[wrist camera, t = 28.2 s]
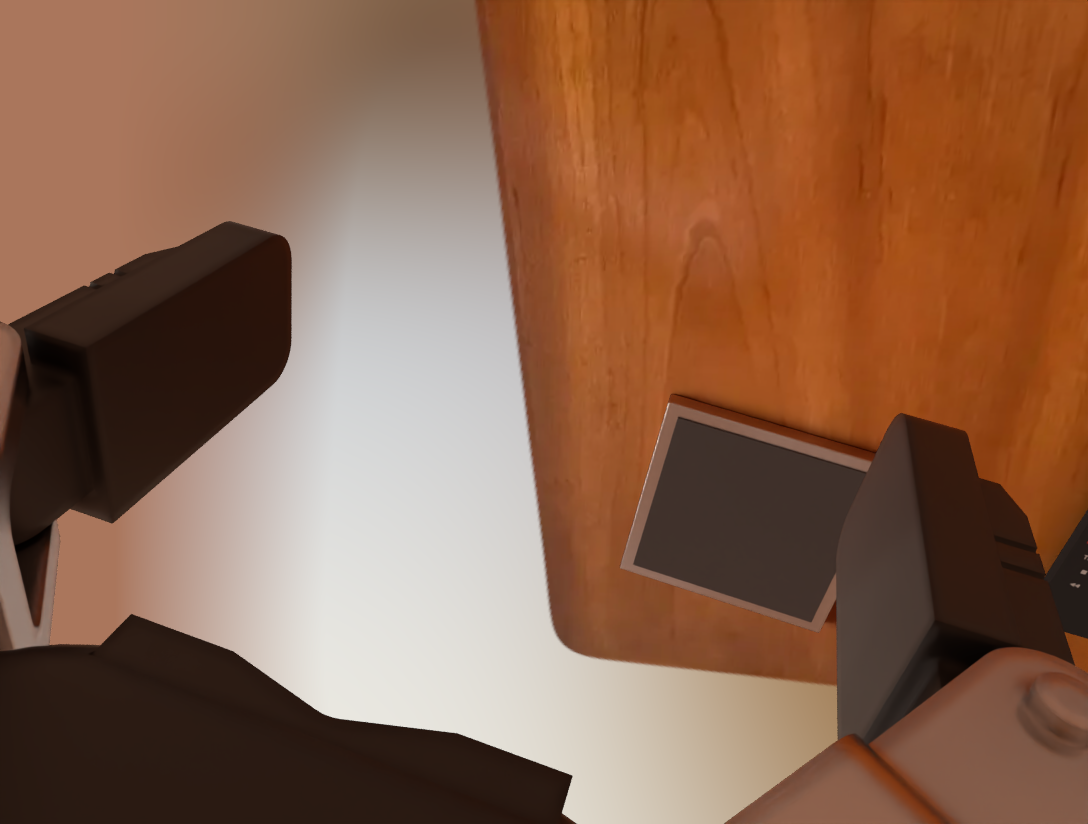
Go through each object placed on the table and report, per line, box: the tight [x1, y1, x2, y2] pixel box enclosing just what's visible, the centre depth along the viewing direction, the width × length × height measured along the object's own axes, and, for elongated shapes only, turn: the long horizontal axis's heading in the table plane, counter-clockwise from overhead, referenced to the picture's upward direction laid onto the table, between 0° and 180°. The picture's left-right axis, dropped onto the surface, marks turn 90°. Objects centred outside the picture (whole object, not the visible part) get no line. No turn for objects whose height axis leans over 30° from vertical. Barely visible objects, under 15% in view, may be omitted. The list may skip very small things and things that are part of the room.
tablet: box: [620, 394, 876, 633], centre depth 47 cm, size 12×12×1 cm
